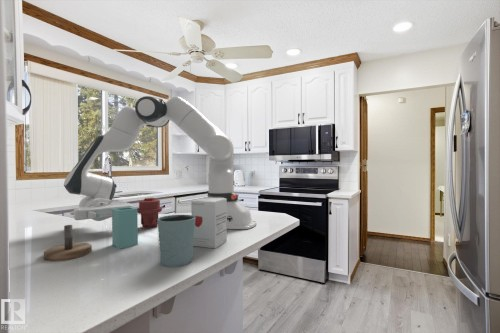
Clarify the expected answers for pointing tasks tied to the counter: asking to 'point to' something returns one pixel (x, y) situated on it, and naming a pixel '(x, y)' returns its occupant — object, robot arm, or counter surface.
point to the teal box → (124, 227)
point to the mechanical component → (149, 212)
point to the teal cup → (176, 239)
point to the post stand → (67, 248)
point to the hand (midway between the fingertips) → (111, 213)
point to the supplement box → (209, 221)
